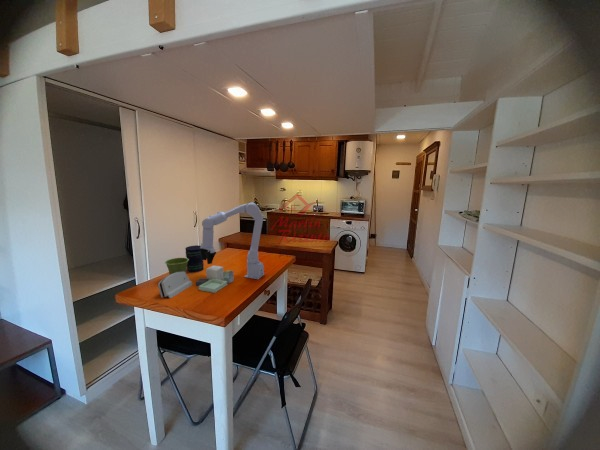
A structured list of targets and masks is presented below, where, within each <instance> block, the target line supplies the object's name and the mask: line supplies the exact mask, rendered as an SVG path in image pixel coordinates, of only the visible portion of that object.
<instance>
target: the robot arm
mask: <svg viewBox="0 0 600 450" xmlns="http://www.w3.org/2000/svg"><path fill="white" fill-rule="evenodd" d="M240 213H242V214H245V213H247V214H248V215H249V216H251V217H252V219H253V220H254V225H253V231H252V235H251V243H250V249H249V250H248V252H247V256H246V260H247V261H246V267H247V268H246V269H247V270H246V273H247V274H246V275H244V278H247V279H253V280H259V279H261V278H262V277H263V276H264V275H265V265H264V263H263V262H261V261H260V260H259V245H260V239H261V234H262V228H263V223H264V222H263V221H264V216H263V214H262V212H261V210H260V207H259V206H258V204H256V203H255V202H253V201H252V202H248V203H243V204H241V205H238V206H236V207H234V208H232V209H230V210H227V211H225V212H224V211H217V213H216V214H213V215H209V216H208V217H205V218H203V220H202V222H201V226H202V237H201V238H202V241H201V242H202V243H201V245H200V246H201V247H200V248H199V250H200V252H201V255H202V259H203V261H206V262H207V265H211V264H213V261H214V259H215V258H214V257H215V255H217V252H216V251H215V248H214V226H218V225H220V224H223V223H225V222H226V221H228V218H229V217H233V216H235V215H238V214H240Z"/></svg>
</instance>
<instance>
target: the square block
mask: <svg viewBox="0 0 600 450" xmlns="http://www.w3.org/2000/svg"><path fill="white" fill-rule="evenodd" d="M207 281H209V279H207V278H206V277H204V278H203V277H202V278H199V279H198V280H196V281H195V286H196V287H199V286H200V285H202V284H204V283H205V282H207Z"/></svg>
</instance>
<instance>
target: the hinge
mask: <svg viewBox="0 0 600 450" xmlns="http://www.w3.org/2000/svg"><path fill="white" fill-rule="evenodd" d="M193 285H194V283H193V282H192V280H190V279H189V276H188V274H187V272H186V273H185V272H176V273H173V274H169V275H167V276H165V277H163V278H162V279H161V280H160V281H159V282H158V284H157V286H158V290H159V293H160V298H162V299H163V298H164V297H165V298H166V297H168V298H169V299H172V298H173V297H175V296H177V295H179V294H180V293H181V292H183V291H185V290H186V289H188V288H190V287H191V286H193Z"/></svg>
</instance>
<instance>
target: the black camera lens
mask: <svg viewBox="0 0 600 450" xmlns="http://www.w3.org/2000/svg"><path fill="white" fill-rule="evenodd" d="M200 247H201V245H190V246H189V245H188V246H186V247H184V248H185V249H184V250H185V258H188V259H189V260H188V263H187V268H186V273H190V274H194V273H199V272H202V271H204V269H205V268H204V265H205V264H204V260H203V259H202V255H201V252H200V250H199V248H200Z"/></svg>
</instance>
